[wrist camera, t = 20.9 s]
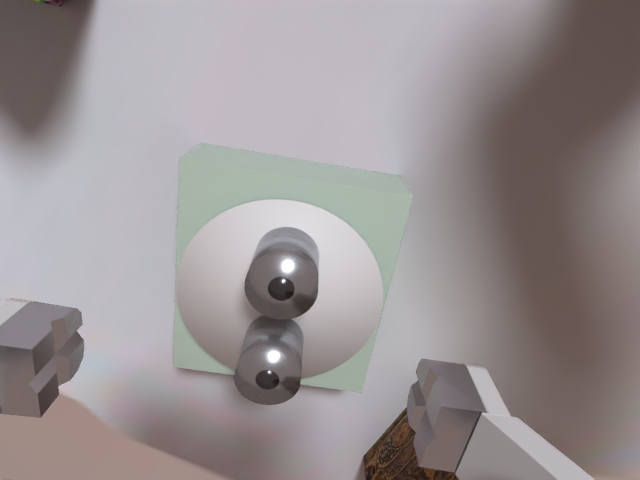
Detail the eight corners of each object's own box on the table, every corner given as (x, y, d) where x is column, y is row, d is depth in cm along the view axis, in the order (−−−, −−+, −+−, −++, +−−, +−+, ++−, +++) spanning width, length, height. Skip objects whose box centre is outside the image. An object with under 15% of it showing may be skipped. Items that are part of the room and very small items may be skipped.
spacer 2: (307, 319, 35) (305, 358, 31) (299, 365, 37) (295, 409, 33) (248, 309, 35) (237, 348, 31) (243, 357, 37) (231, 400, 33)
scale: (400, 175, 38) (417, 202, 31) (355, 357, 46) (360, 410, 40) (200, 142, 37) (172, 162, 30) (191, 334, 45) (167, 384, 39)
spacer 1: (324, 232, 32) (324, 262, 28) (313, 288, 34) (311, 325, 30) (259, 221, 32) (248, 250, 27) (252, 278, 34) (240, 314, 29)
